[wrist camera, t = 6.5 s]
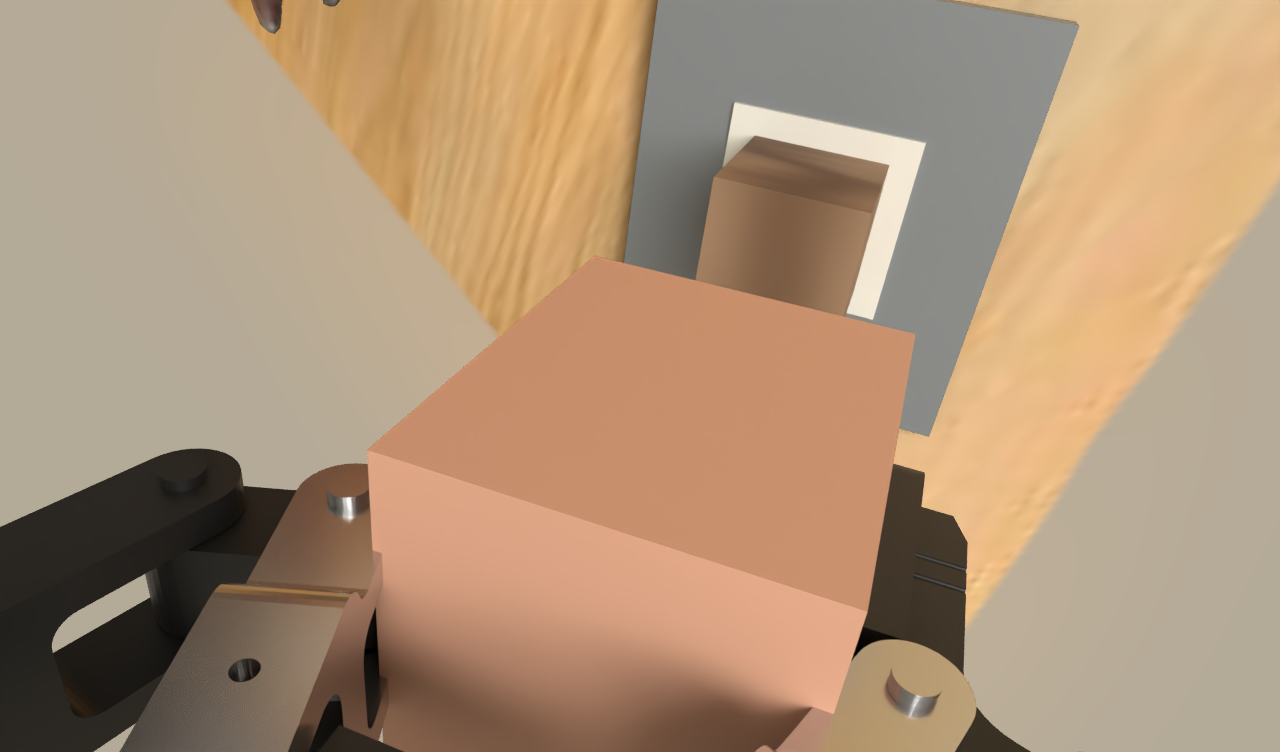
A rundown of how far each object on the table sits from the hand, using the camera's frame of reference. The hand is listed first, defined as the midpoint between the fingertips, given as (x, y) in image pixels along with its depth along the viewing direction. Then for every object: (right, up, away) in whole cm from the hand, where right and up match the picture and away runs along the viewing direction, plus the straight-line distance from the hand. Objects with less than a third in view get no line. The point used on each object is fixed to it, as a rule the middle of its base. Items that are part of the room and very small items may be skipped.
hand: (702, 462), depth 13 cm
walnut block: (+5, +7, +20) cm, 22 cm away
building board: (+6, +8, +21) cm, 23 cm away
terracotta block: (0, 0, +1) cm, 1 cm away
